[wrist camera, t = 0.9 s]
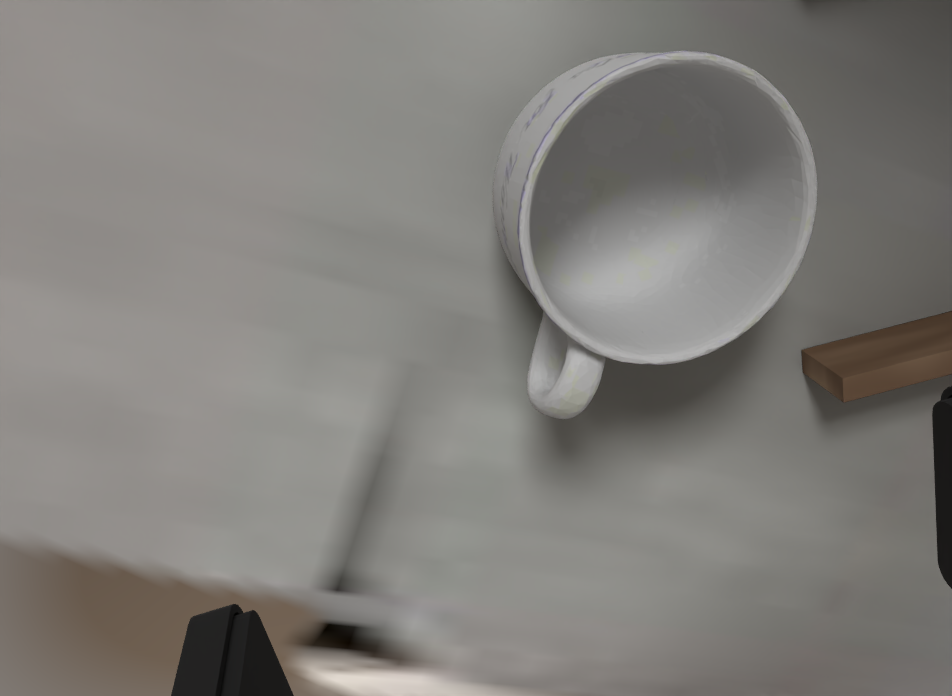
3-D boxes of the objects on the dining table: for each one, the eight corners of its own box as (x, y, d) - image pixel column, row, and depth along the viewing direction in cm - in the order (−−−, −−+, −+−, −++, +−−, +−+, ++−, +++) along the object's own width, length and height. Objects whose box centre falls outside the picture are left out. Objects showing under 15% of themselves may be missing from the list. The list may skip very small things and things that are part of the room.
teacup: (587, -13, 33) (661, -24, 25) (776, 151, 36) (888, 183, 29) (384, 274, 36) (397, 339, 28) (578, 400, 39) (635, 487, 32)
